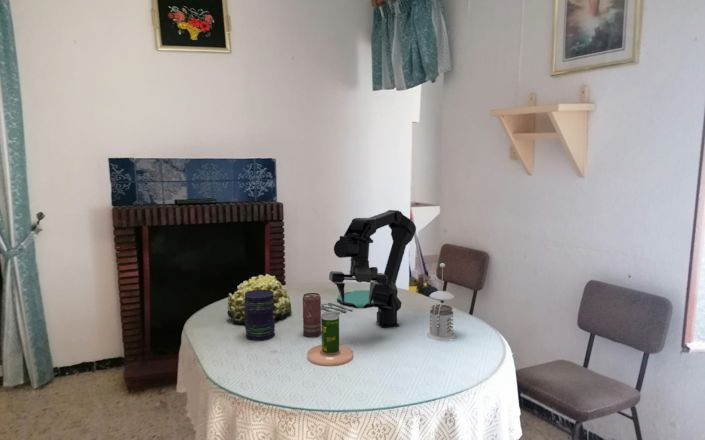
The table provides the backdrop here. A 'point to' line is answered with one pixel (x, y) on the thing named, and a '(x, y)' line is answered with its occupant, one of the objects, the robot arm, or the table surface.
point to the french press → (441, 316)
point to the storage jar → (259, 315)
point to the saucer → (330, 356)
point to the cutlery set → (351, 300)
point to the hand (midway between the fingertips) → (356, 303)
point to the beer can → (330, 333)
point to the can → (311, 314)
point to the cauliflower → (256, 283)
